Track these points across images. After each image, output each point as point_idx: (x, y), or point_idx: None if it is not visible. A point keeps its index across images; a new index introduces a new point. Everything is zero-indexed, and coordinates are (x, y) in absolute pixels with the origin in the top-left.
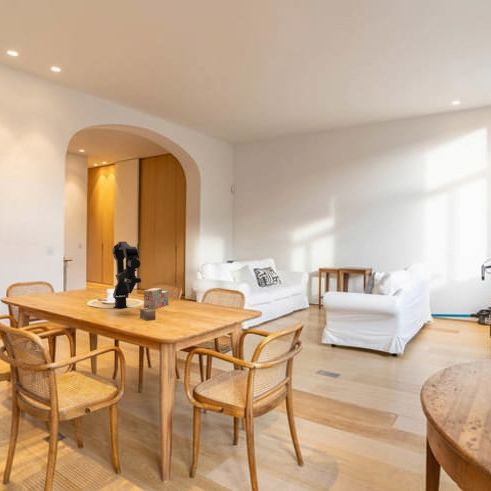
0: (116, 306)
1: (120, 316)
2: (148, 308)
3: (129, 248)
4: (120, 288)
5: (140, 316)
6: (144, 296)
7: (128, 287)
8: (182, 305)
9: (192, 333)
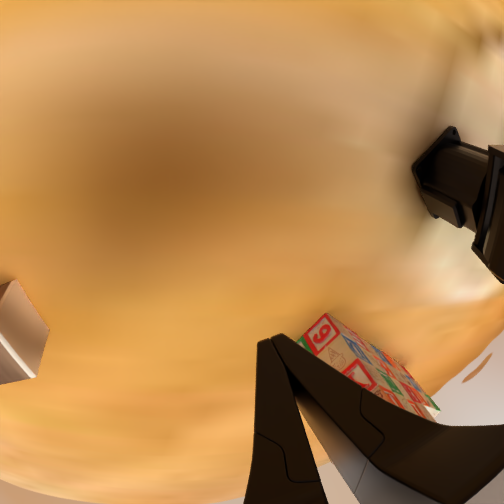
0: (446, 145)
1: (69, 123)
2: (19, 376)
3: None
4: None
5: (3, 289)
6: (370, 380)
7: (298, 430)
8: None
9: None
